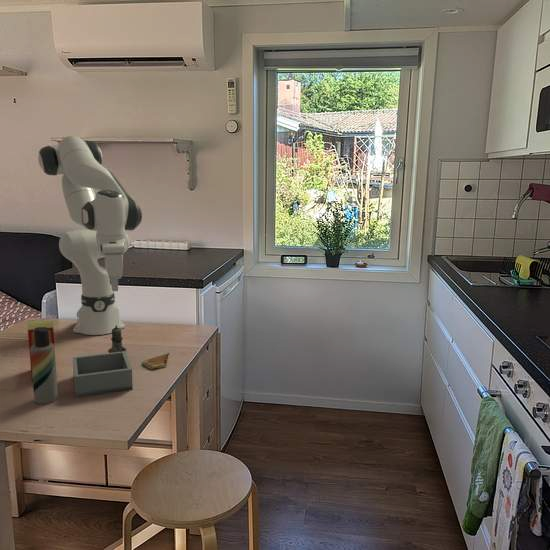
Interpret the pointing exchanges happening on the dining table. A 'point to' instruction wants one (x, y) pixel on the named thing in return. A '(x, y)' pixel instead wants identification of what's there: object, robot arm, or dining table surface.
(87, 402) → the dining table surface
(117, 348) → the stone chess piece
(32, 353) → the lotion bottle
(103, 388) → the box
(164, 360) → the shard
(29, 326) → the baking soda box
